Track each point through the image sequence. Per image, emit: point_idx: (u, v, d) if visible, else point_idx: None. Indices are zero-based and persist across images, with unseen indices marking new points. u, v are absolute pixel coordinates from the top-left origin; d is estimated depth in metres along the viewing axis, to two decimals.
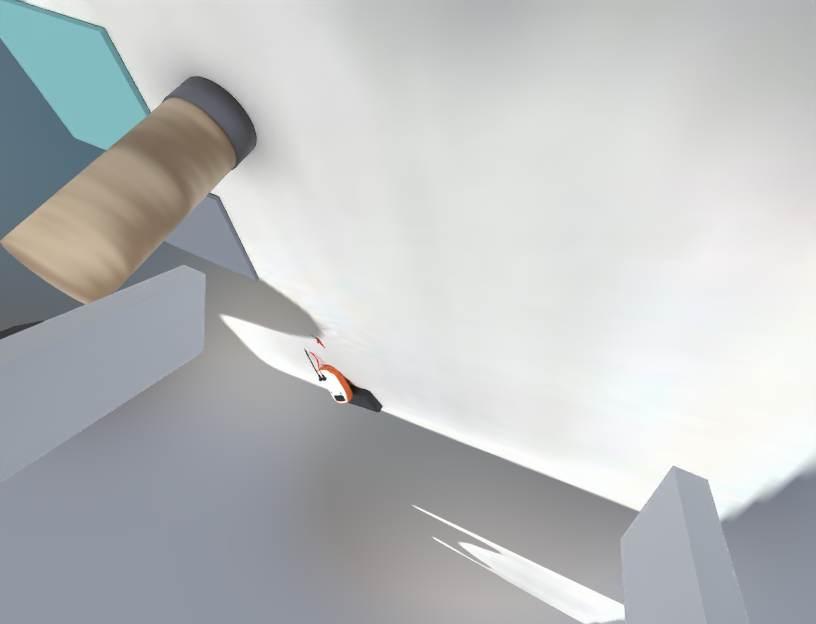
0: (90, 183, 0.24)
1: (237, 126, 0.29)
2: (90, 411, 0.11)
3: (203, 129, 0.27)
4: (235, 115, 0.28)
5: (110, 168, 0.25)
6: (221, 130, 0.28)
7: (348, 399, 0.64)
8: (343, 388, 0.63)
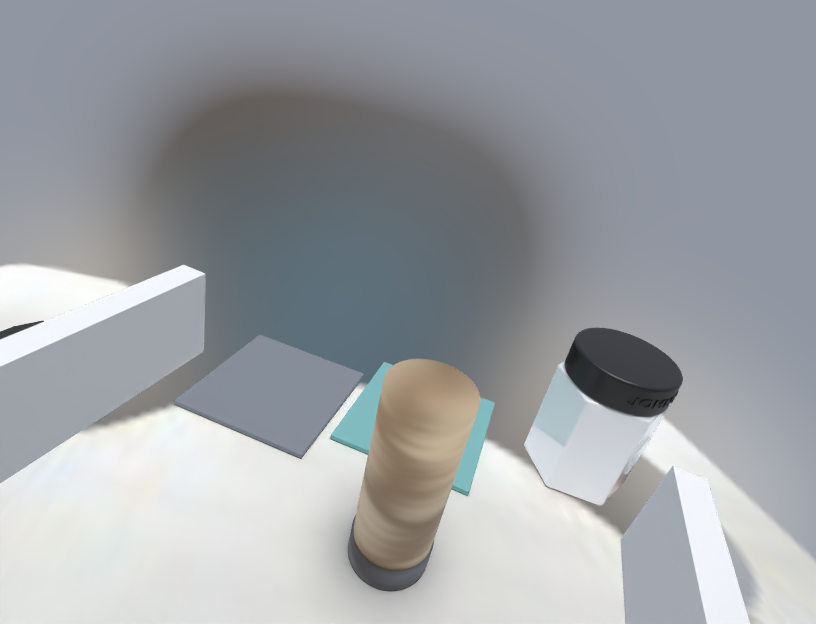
0: (457, 469, 0.26)
1: (389, 579, 0.29)
2: (90, 412, 0.11)
3: (413, 558, 0.28)
4: (397, 583, 0.29)
5: (451, 485, 0.27)
6: (399, 569, 0.28)
7: None
8: None
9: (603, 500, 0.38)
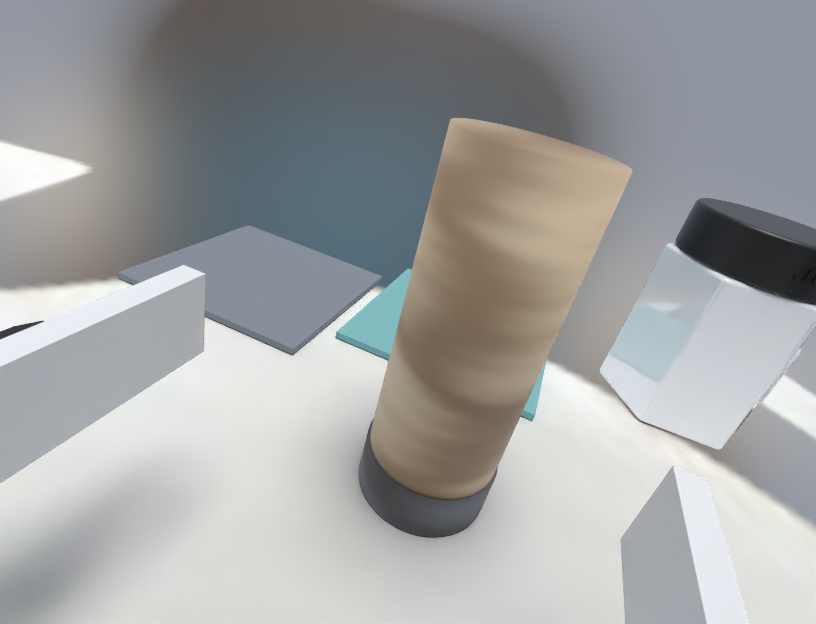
0: None
1: (427, 516, 0.17)
2: (90, 411, 0.11)
3: (471, 480, 0.17)
4: (440, 524, 0.17)
5: None
6: (447, 497, 0.17)
7: None
8: None
9: (724, 441, 0.26)
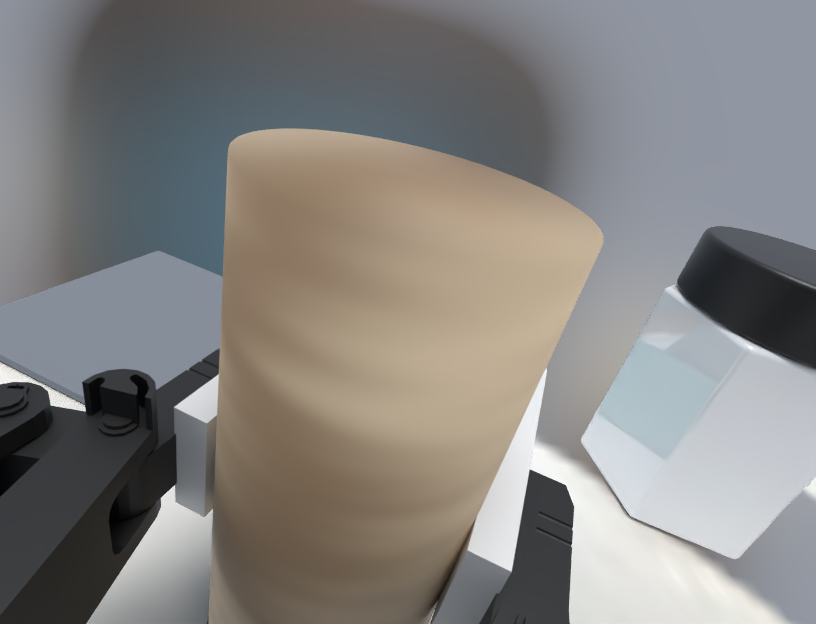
0: None
1: None
2: None
3: None
4: None
5: None
6: None
7: None
8: None
9: (743, 550, 0.20)
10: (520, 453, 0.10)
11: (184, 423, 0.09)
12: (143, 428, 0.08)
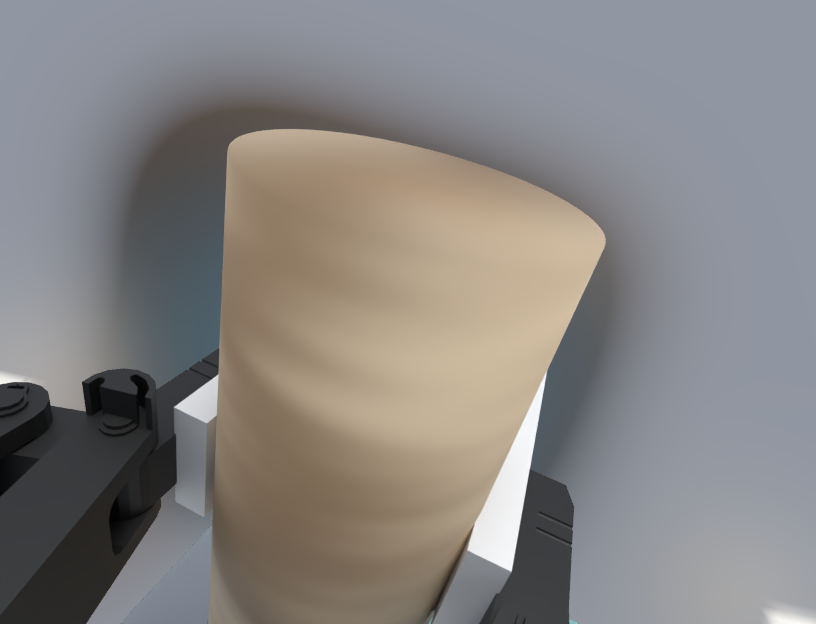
0: None
1: None
2: None
3: None
4: None
5: None
6: None
7: None
8: None
9: None
10: (520, 453, 0.10)
11: (184, 423, 0.09)
12: (143, 428, 0.08)
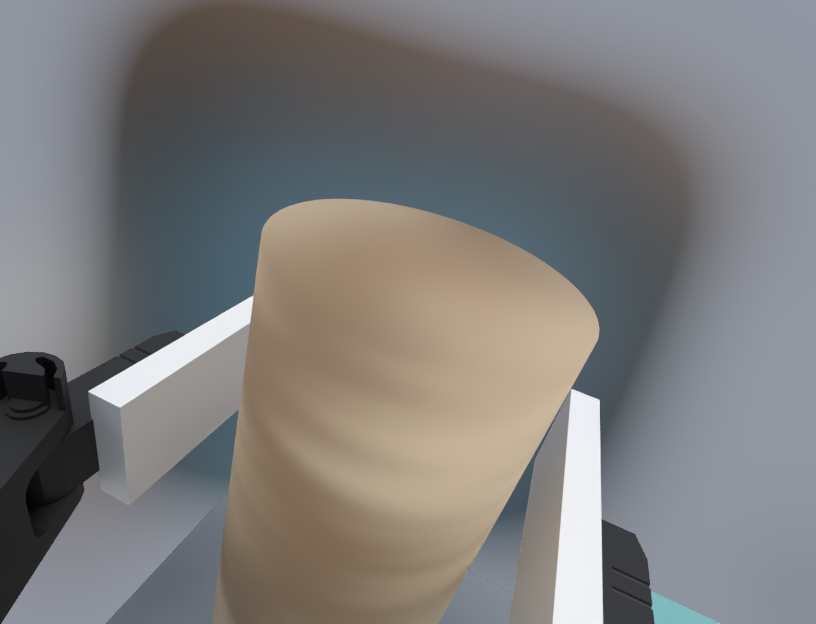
0: None
1: None
2: (219, 415, 0.12)
3: None
4: None
5: None
6: None
7: None
8: None
9: None
10: (589, 502, 0.09)
11: (99, 408, 0.09)
12: (55, 409, 0.08)
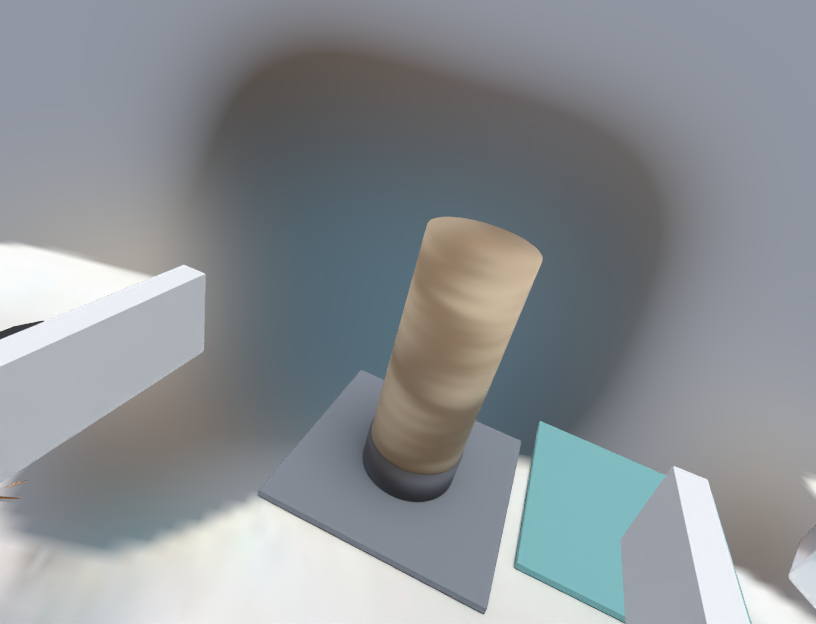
0: (505, 348, 0.22)
1: (411, 486, 0.24)
2: (90, 411, 0.11)
3: (442, 460, 0.24)
4: (420, 492, 0.25)
5: (495, 370, 0.22)
6: (425, 473, 0.24)
7: None
8: None
9: None
10: None
11: None
12: None
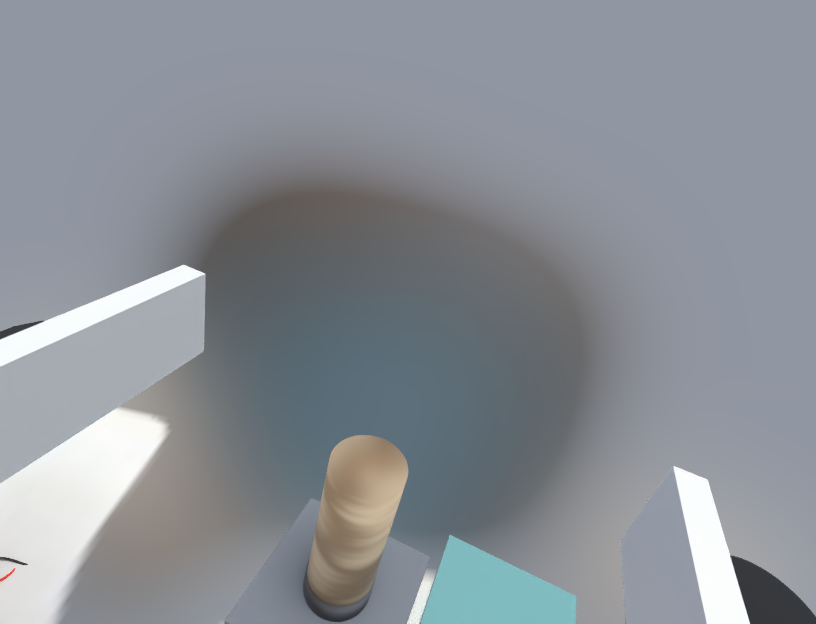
0: (390, 528, 0.32)
1: (333, 613, 0.35)
2: (90, 411, 0.11)
3: (353, 597, 0.34)
4: (340, 616, 0.35)
5: (385, 540, 0.33)
6: (342, 605, 0.34)
7: None
8: None
9: None
10: None
11: None
12: None
